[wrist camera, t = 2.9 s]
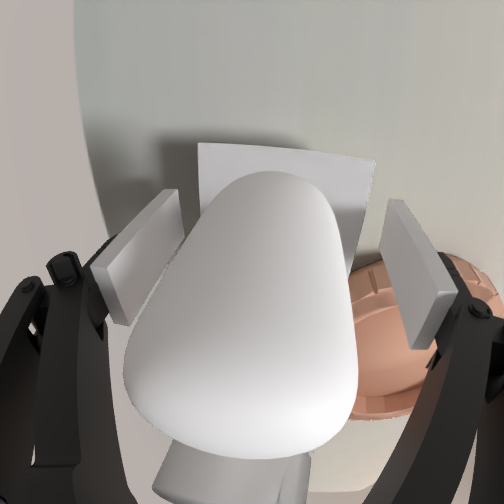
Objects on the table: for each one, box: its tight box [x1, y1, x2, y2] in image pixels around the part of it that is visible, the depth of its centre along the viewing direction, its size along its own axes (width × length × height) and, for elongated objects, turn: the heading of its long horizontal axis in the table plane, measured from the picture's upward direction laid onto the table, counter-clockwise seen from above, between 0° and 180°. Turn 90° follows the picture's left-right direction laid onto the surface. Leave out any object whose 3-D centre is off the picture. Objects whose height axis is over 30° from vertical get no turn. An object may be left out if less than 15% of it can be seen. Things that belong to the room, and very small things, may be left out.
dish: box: [347, 254, 504, 421], centre depth 20 cm, size 19×18×3 cm
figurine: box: [123, 143, 376, 504], centre depth 10 cm, size 7×9×15 cm
